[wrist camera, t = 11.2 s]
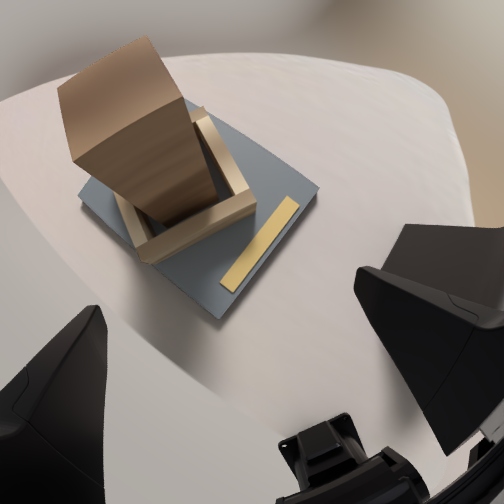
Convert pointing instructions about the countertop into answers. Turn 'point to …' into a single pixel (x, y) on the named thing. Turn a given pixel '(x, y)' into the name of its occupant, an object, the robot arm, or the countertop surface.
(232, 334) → the countertop surface
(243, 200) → the maple socket
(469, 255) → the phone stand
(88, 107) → the walnut block
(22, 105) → the countertop surface
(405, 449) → the countertop surface
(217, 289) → the slate board
